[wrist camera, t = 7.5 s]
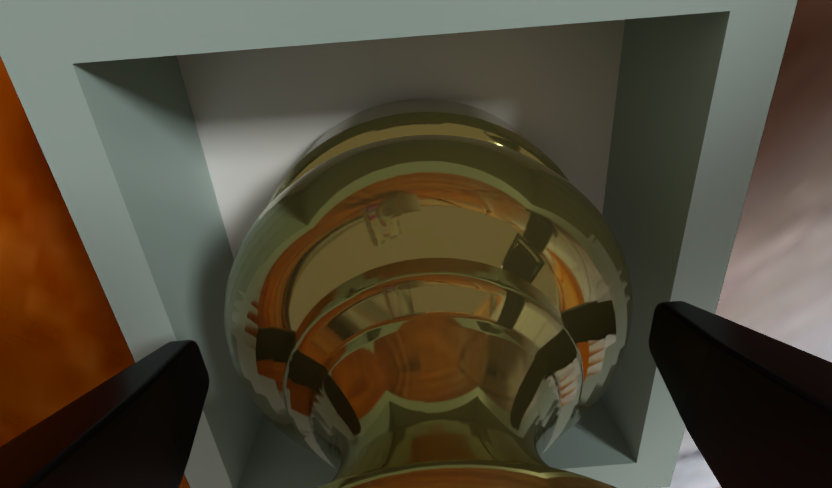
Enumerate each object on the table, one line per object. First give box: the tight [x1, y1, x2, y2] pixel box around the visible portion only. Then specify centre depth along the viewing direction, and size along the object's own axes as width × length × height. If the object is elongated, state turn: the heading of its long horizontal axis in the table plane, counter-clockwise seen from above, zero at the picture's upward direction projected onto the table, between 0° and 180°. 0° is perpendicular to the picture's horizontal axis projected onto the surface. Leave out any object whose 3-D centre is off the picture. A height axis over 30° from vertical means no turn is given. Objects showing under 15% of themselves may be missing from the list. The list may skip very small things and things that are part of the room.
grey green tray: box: [0, 0, 798, 488], centre depth 11 cm, size 16×14×4 cm
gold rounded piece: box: [223, 99, 633, 488], centre depth 8 cm, size 7×7×10 cm
